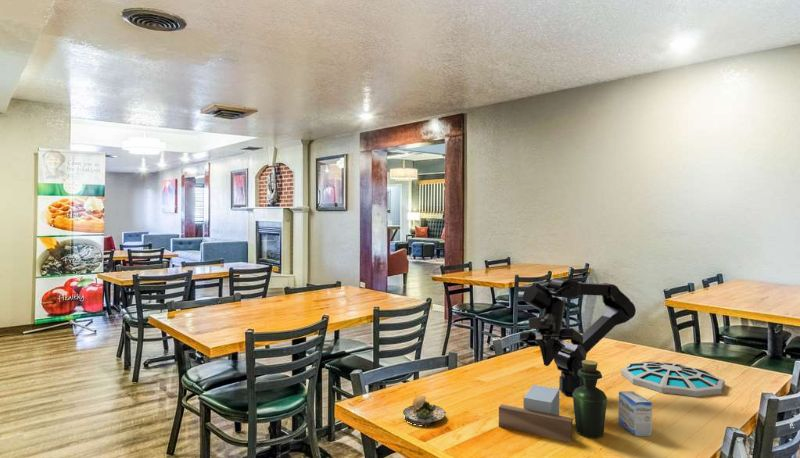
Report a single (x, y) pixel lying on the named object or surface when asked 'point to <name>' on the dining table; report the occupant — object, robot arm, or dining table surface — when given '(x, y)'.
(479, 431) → the dining table surface
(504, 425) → the walnut board
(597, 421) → the potion bottle
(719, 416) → the dining table surface
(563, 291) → the robot arm
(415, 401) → the grey dish with food
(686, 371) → the decorative platform
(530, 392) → the slate block
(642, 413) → the medicine box
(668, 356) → the dining table surface
